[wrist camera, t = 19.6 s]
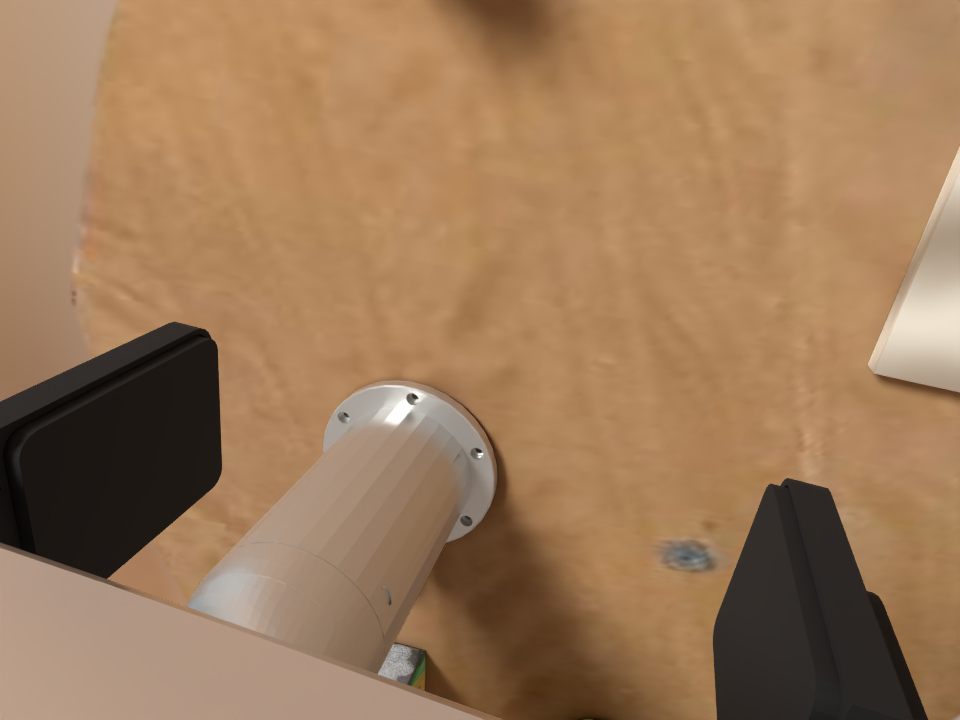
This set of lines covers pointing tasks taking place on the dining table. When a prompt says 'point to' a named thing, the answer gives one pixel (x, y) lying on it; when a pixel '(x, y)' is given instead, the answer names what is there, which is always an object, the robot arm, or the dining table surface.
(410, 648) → the chalk box
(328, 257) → the dining table surface
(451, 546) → the dining table surface
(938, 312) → the board
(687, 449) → the dining table surface
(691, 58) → the dining table surface
